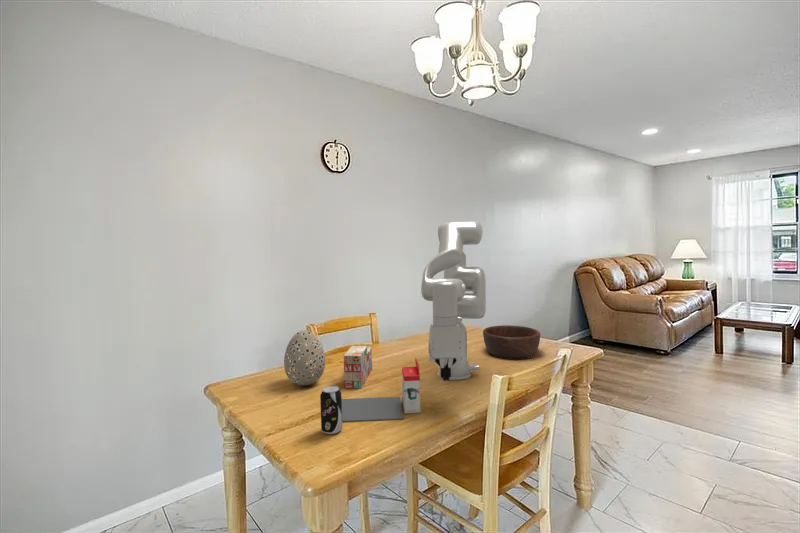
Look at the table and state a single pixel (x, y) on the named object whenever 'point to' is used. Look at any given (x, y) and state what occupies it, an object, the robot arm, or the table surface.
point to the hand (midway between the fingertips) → (445, 379)
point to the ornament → (304, 358)
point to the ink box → (411, 388)
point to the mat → (371, 409)
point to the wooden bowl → (511, 341)
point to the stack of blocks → (357, 366)
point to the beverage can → (331, 410)
